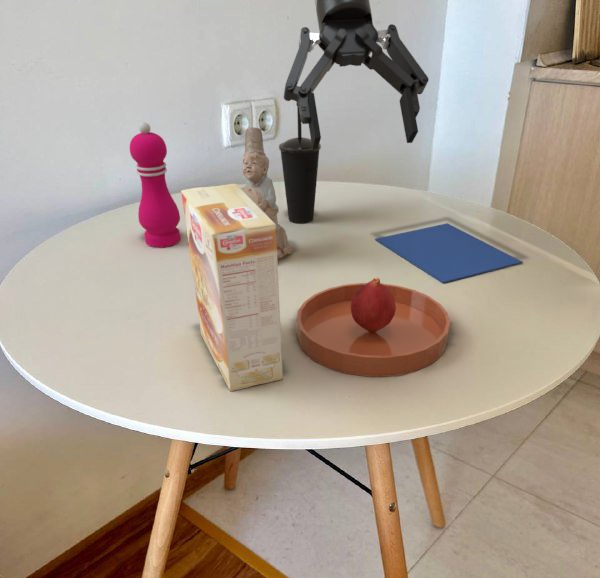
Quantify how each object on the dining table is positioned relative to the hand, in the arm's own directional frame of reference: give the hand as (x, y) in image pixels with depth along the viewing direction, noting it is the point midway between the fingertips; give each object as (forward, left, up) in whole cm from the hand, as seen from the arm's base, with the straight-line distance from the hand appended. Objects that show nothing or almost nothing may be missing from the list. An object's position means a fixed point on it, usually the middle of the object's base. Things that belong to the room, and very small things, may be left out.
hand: (365, 140), depth 81 cm
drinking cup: (+29, -4, -21) cm, 36 cm away
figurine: (+16, +9, -21) cm, 28 cm away
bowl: (-15, +7, -21) cm, 27 cm away
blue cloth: (+3, -19, -21) cm, 28 cm away
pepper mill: (+31, +23, -21) cm, 44 cm away
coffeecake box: (-12, +25, -21) cm, 35 cm away
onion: (-15, +7, -21) cm, 27 cm away
